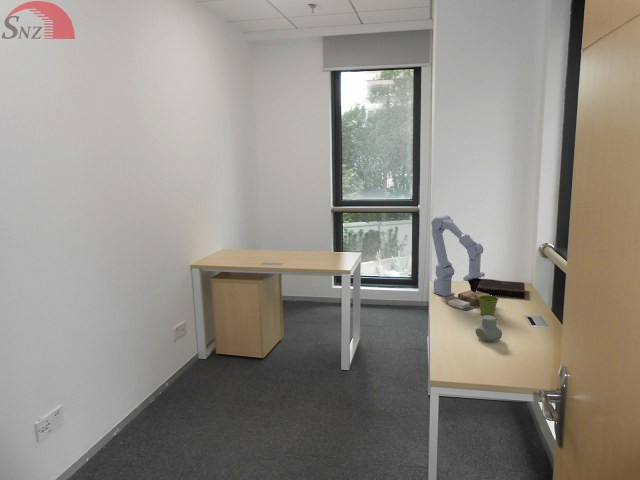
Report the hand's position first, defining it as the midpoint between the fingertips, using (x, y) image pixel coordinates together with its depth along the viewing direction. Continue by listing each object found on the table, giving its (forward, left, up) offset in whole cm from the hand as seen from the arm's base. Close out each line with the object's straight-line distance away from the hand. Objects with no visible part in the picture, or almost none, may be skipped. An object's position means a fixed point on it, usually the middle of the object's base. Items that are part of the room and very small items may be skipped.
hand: (473, 291), depth 253 cm
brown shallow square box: (0, +1, -6) cm, 6 cm away
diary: (-2, +26, -6) cm, 27 cm away
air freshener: (+36, -34, -6) cm, 50 cm away
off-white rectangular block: (0, -11, -3) cm, 12 cm away
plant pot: (+17, -10, -6) cm, 21 cm away
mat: (0, -10, -6) cm, 11 cm away
